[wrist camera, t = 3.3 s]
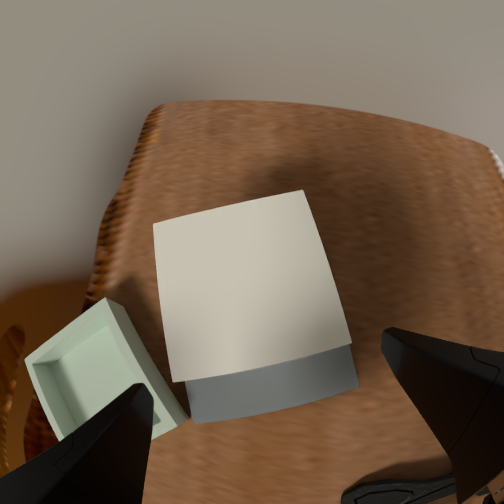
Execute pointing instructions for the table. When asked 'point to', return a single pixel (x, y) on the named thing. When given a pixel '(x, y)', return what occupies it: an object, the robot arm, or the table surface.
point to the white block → (245, 288)
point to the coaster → (272, 387)
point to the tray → (97, 371)
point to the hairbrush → (403, 491)
